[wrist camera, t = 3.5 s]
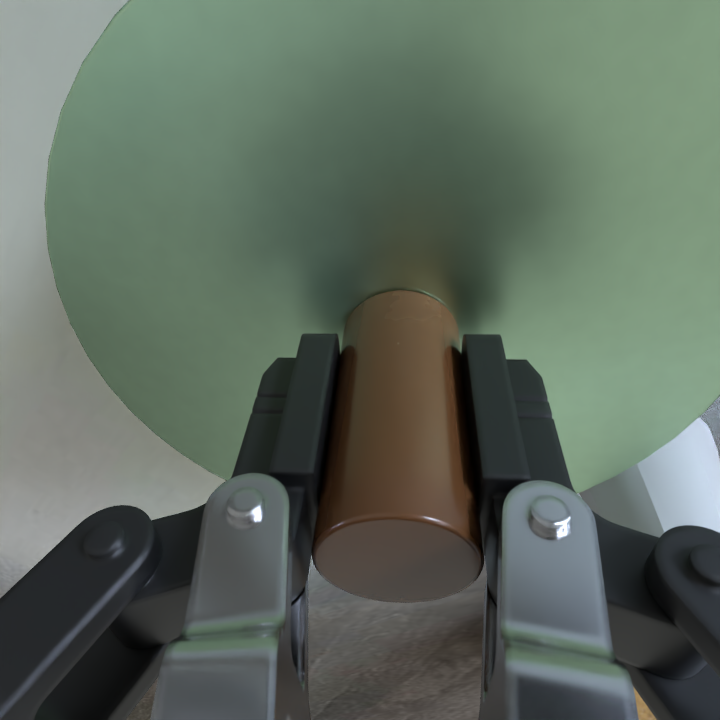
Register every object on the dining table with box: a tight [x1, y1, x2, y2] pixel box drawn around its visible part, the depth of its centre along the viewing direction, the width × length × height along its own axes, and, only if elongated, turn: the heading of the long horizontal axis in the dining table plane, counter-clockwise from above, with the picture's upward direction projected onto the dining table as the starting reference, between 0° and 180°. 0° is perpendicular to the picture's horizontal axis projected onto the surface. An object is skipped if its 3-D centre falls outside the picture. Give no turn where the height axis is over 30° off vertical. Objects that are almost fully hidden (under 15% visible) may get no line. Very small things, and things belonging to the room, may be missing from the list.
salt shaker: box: [579, 417, 720, 538], centre depth 20 cm, size 6×6×13 cm
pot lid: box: [45, 0, 720, 603], centre depth 11 cm, size 16×16×7 cm
